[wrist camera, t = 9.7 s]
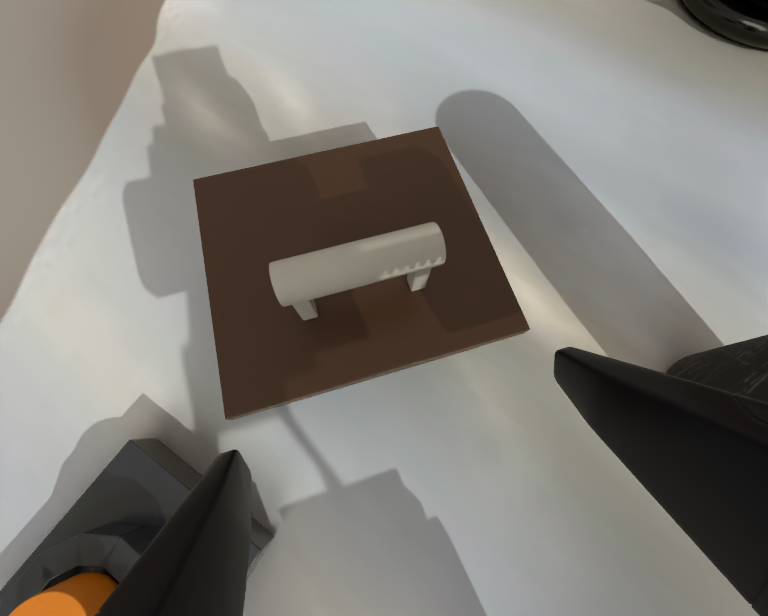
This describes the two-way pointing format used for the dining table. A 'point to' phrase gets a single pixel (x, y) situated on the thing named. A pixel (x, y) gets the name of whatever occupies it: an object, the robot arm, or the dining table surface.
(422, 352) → the lid
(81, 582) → the release button
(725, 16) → the amphora vase
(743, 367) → the travel mug
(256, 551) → the control block
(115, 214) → the dining table surface
